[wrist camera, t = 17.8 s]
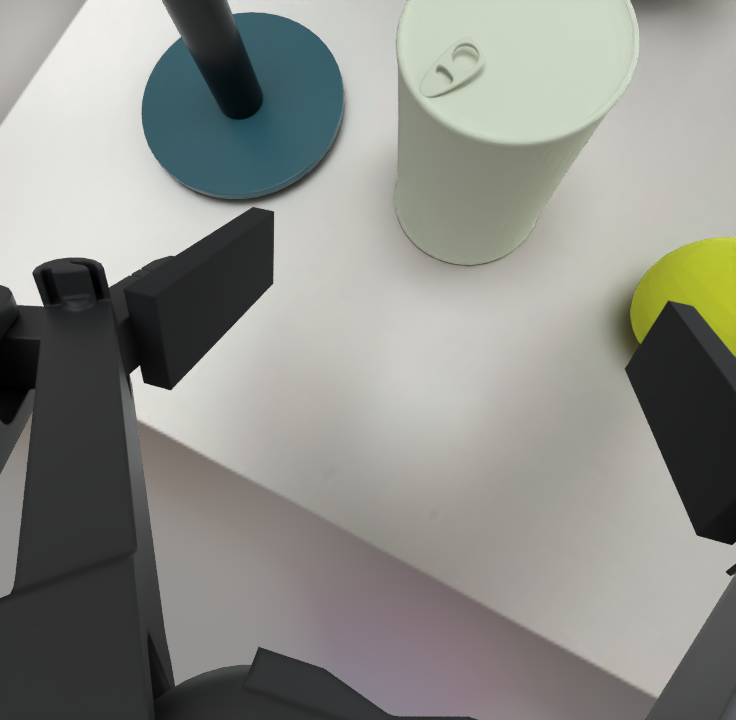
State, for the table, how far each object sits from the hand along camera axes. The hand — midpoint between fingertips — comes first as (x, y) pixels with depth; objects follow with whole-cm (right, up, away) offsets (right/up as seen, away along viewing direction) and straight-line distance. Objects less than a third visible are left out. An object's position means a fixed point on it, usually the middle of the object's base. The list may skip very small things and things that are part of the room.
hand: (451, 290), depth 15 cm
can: (+3, +8, +13) cm, 16 cm away
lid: (-11, +15, +14) cm, 23 cm away
